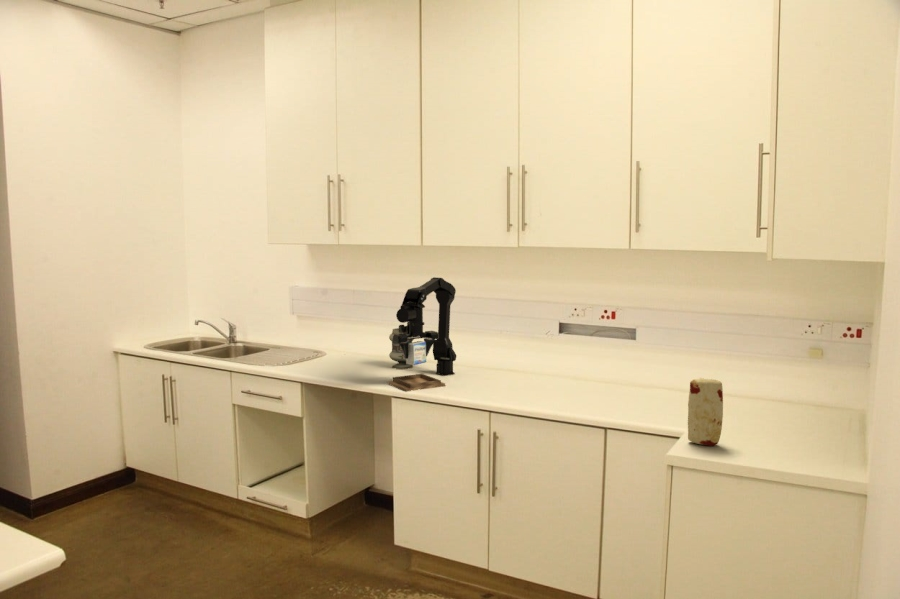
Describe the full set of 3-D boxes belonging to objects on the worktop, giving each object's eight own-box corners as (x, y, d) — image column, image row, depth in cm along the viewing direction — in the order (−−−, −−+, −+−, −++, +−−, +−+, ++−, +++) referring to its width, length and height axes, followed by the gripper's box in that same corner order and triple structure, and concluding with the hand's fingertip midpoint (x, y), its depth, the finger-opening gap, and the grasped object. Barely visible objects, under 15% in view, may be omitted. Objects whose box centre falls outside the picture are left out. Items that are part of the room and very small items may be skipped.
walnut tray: (426, 378, 301) (426, 373, 301) (445, 385, 288) (445, 379, 287) (388, 383, 292) (388, 377, 292) (406, 391, 279) (405, 385, 278)
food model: (685, 445, 208) (687, 378, 206) (688, 439, 214) (690, 374, 212) (720, 449, 204) (723, 381, 202) (723, 443, 210) (725, 377, 208)
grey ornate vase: (403, 363, 336) (402, 326, 334) (420, 366, 327) (420, 328, 326) (384, 367, 327) (383, 329, 325) (401, 370, 319) (400, 331, 317)
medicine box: (414, 365, 285) (413, 344, 284) (405, 364, 288) (405, 343, 287) (426, 362, 291) (426, 341, 290) (418, 361, 294) (418, 340, 293)
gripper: (426, 315, 299) (426, 352, 301) (386, 319, 289) (387, 356, 291) (439, 318, 289) (439, 356, 291) (398, 322, 280) (399, 361, 282)
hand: (416, 357), depth 289 cm, fingers closed on medicine box, 9 cm apart
